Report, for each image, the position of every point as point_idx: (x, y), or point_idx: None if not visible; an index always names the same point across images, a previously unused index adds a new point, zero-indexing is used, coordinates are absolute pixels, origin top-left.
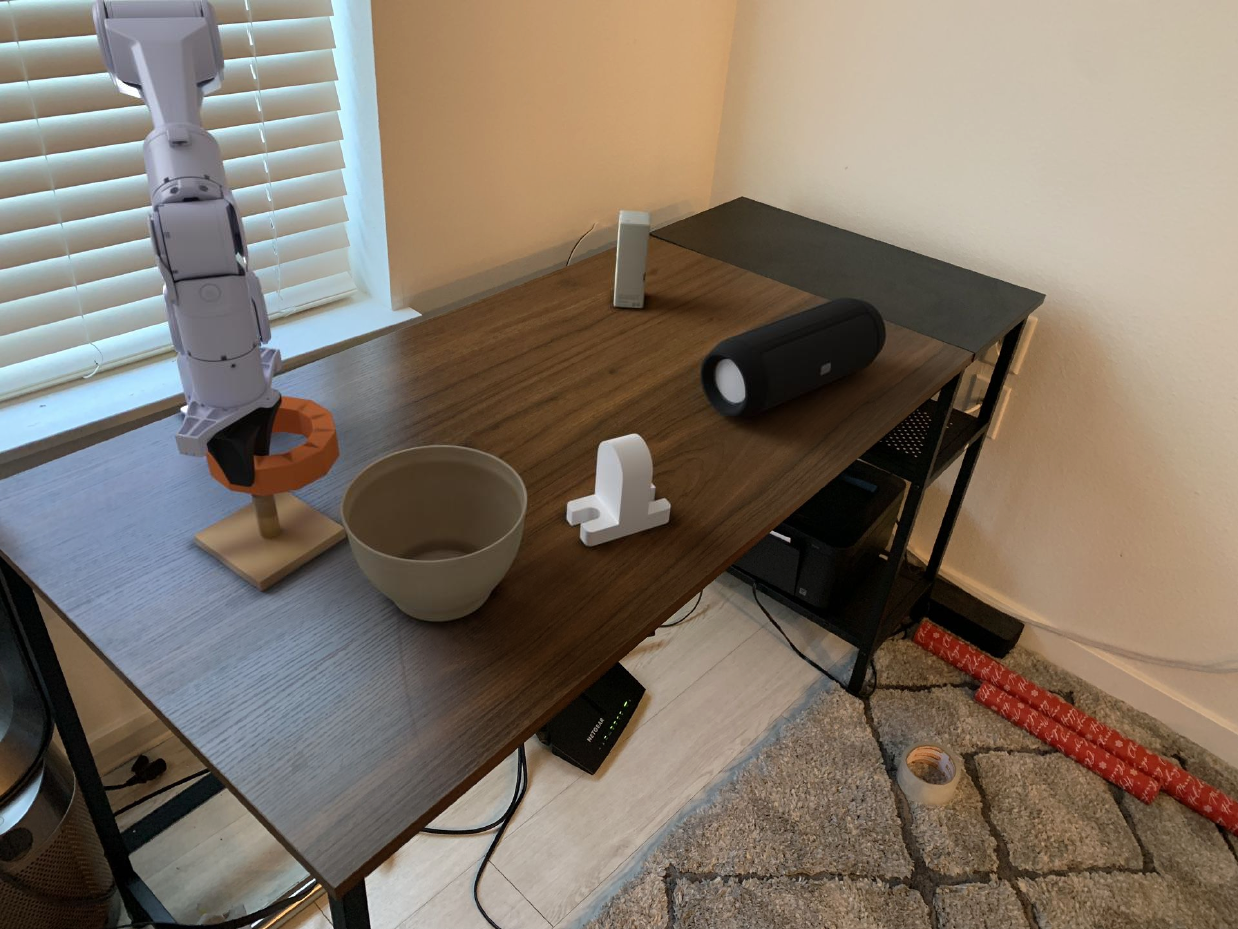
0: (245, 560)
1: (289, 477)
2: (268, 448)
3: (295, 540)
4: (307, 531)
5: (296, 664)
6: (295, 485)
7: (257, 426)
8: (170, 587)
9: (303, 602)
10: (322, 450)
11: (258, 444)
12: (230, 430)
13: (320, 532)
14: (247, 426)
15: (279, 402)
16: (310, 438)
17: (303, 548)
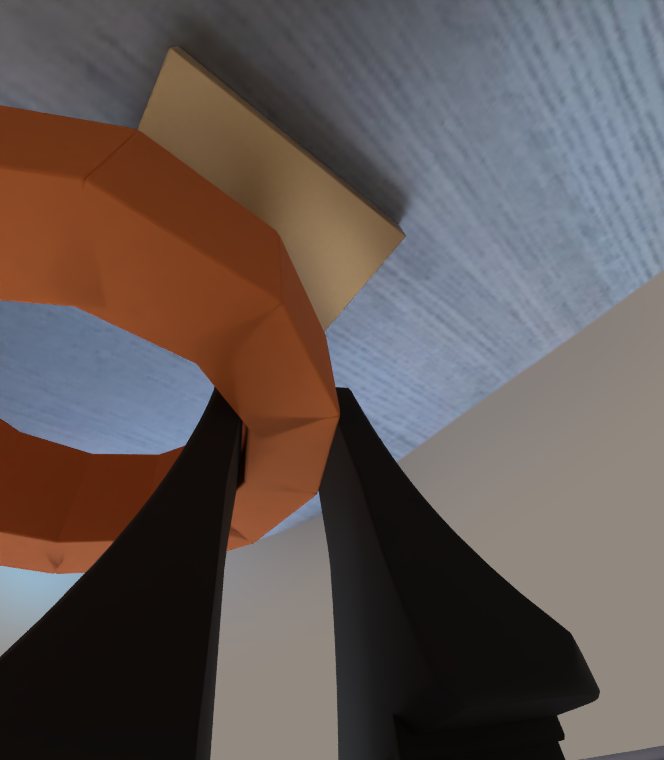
0: (338, 285)
1: (293, 288)
2: (214, 432)
3: (259, 196)
4: (216, 173)
5: (638, 73)
6: (281, 250)
7: (476, 707)
8: (379, 369)
9: (441, 114)
10: (85, 176)
11: (231, 477)
12: (516, 739)
13: (212, 132)
14: (465, 719)
15: (50, 739)
16: (10, 287)
17: (286, 165)
